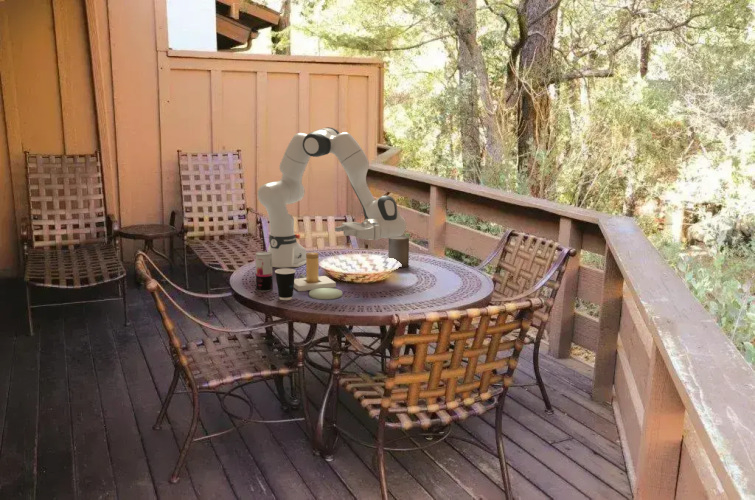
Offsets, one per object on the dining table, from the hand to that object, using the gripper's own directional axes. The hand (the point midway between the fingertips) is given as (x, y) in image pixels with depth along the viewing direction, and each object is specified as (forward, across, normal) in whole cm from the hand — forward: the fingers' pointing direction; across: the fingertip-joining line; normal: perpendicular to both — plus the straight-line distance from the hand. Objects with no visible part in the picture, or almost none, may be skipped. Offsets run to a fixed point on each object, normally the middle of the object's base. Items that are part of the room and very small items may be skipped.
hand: (339, 231), depth 277 cm
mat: (+12, +15, +22) cm, 29 cm away
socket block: (+12, -4, +22) cm, 25 cm away
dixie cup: (+28, +14, +22) cm, 38 cm away
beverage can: (+32, -1, +22) cm, 39 cm away
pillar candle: (-37, -19, +22) cm, 48 cm away
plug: (+12, 0, +22) cm, 25 cm away
